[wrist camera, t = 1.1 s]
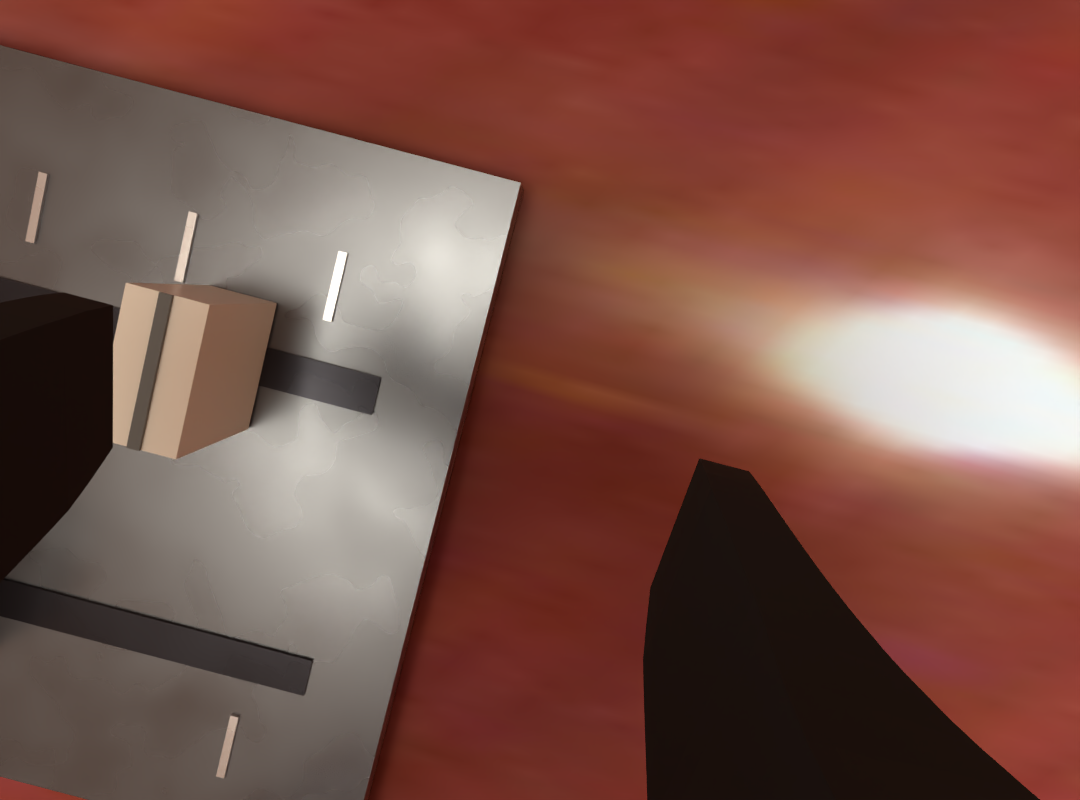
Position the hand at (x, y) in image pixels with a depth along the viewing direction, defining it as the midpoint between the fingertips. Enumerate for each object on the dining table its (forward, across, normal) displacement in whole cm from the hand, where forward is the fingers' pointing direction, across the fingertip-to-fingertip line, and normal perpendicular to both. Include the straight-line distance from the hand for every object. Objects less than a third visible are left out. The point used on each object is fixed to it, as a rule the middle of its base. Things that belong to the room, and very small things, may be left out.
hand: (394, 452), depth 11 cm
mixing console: (+9, +10, +8) cm, 16 cm away
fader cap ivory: (+9, +6, +5) cm, 11 cm away
